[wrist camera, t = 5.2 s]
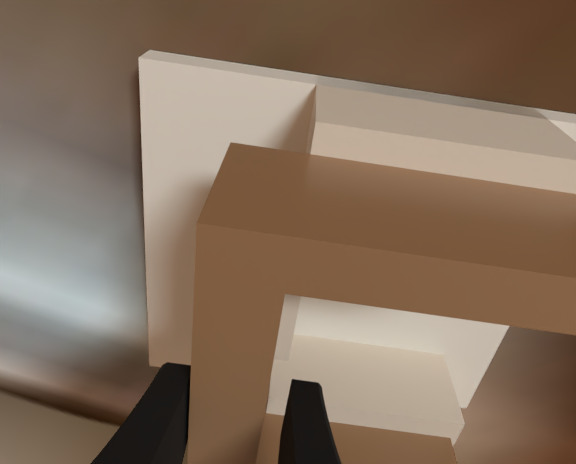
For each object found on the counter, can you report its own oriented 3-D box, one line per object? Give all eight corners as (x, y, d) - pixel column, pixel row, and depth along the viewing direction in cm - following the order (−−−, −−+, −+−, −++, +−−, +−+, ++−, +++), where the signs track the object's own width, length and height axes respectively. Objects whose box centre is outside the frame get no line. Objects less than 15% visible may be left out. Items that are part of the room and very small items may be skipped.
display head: (594, 117, 14) (684, 176, 10) (460, 388, 20) (488, 479, 17) (149, 50, 13) (93, 88, 10) (156, 347, 20) (123, 432, 16)
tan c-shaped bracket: (579, 194, 11) (677, 292, 8) (439, 458, 16) (466, 575, 13) (230, 141, 11) (196, 222, 8) (208, 428, 16) (184, 539, 13)
